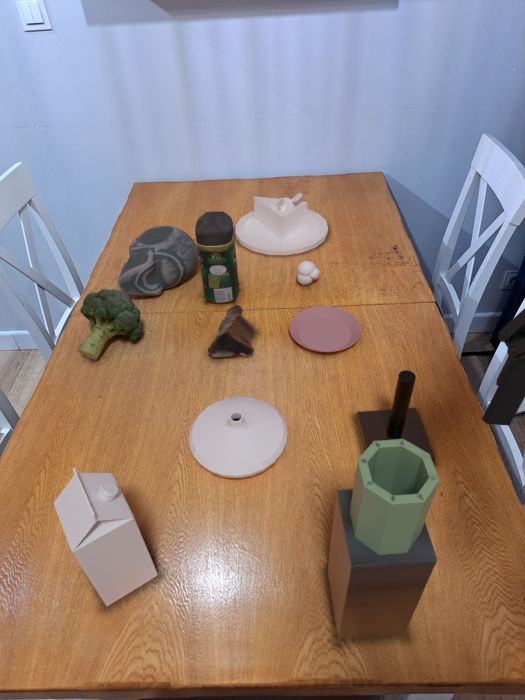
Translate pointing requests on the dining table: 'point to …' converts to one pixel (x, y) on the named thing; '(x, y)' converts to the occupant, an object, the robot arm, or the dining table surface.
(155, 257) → the grey swirled rock
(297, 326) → the plate
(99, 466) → the dining table surface
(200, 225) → the coffee jar
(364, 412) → the peg stand
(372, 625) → the stand
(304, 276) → the microfossil shell
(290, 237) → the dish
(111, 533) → the milk carton
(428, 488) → the green octagonal tube
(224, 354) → the stone
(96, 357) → the vegetable
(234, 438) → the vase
